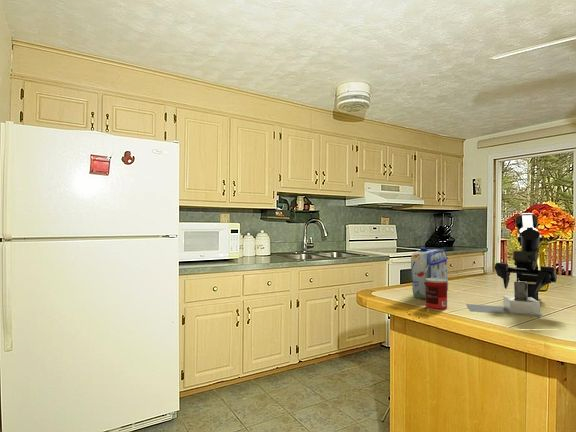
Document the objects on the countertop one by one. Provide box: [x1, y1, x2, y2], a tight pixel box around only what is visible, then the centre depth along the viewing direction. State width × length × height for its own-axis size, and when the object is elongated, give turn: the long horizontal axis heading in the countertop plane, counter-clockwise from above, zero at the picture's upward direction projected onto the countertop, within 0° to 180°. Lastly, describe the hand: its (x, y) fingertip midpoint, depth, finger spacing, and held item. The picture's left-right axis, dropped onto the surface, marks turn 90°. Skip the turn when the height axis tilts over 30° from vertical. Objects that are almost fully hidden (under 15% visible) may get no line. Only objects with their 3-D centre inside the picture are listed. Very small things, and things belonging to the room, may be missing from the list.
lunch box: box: [410, 246, 449, 300], centre depth 153 cm, size 28×10×22 cm, turn 142°
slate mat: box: [465, 303, 546, 318], centre depth 127 cm, size 23×12×1 cm, turn 70°
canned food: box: [425, 278, 448, 311], centre depth 132 cm, size 8×8×11 cm
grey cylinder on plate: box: [503, 280, 541, 316], centre depth 126 cm, size 9×9×10 cm
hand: (519, 289), depth 125 cm, fingers open, 9 cm apart
